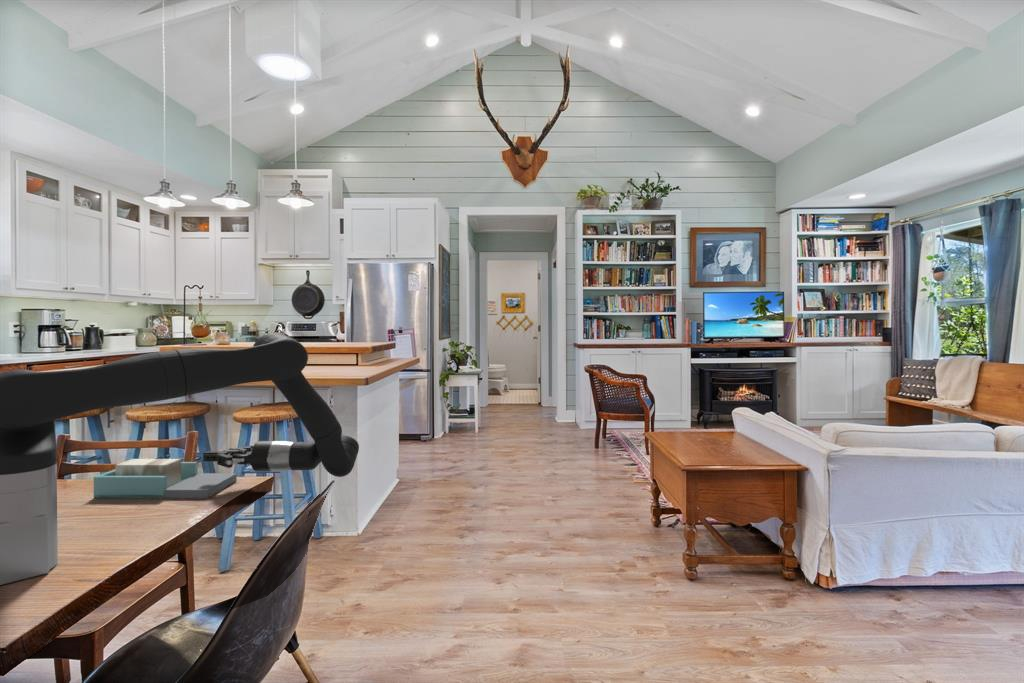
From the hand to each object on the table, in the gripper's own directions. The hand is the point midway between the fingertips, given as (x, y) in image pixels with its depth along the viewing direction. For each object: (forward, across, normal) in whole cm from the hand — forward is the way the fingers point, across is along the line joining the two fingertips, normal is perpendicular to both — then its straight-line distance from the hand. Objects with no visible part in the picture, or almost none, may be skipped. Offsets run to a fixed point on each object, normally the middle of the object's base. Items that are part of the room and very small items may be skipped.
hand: (204, 456), depth 129 cm
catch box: (+14, 0, +8) cm, 16 cm away
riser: (+1, 0, +8) cm, 8 cm away
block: (+8, 0, +4) cm, 9 cm away
